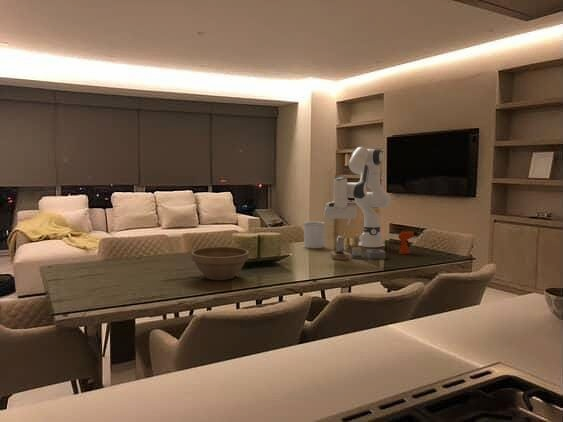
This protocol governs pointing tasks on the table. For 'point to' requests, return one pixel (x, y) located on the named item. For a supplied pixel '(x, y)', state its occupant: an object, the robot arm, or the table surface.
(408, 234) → the toy drill
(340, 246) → the drill bit
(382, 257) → the socket block
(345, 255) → the rack
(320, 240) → the utensil holder
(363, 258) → the guide channel
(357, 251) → the release bar
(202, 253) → the flower pot
